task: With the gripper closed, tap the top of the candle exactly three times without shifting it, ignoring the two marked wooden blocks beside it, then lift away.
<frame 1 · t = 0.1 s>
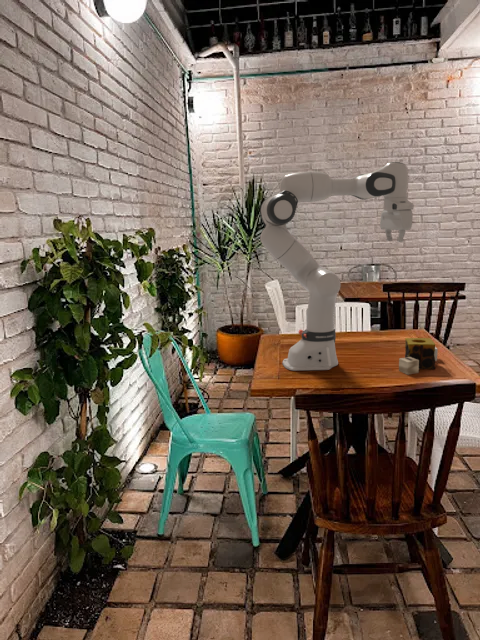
hand: (394, 241, 189), 48 cm above the table, fingers open, 8 cm apart
cream block marked: (429, 359, 195), on the table
beech block marked: (408, 372, 180), on the table
candle: (419, 366, 187), on the table
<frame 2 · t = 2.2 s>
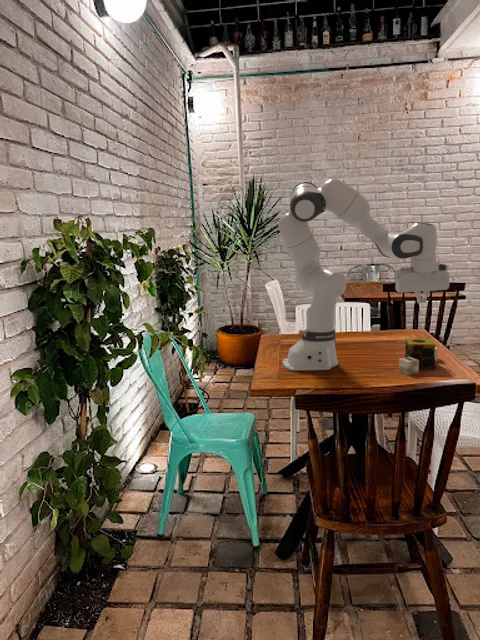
hand: (421, 302, 182), 25 cm above the table, fingers closed
nothing on the table moved.
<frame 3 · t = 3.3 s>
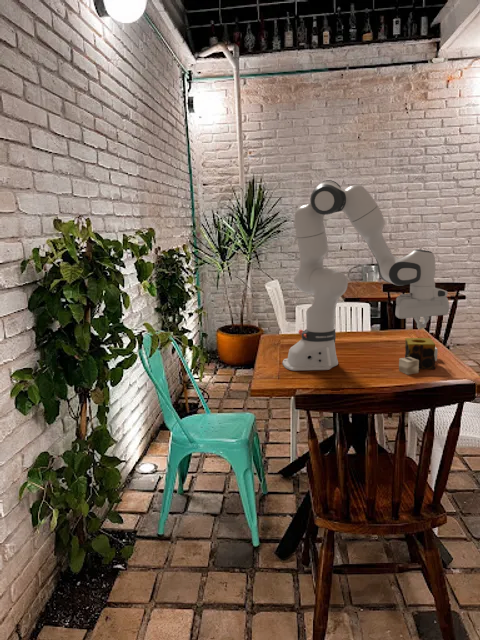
hand: (421, 327, 183), 15 cm above the table, fingers closed
nothing on the table moved.
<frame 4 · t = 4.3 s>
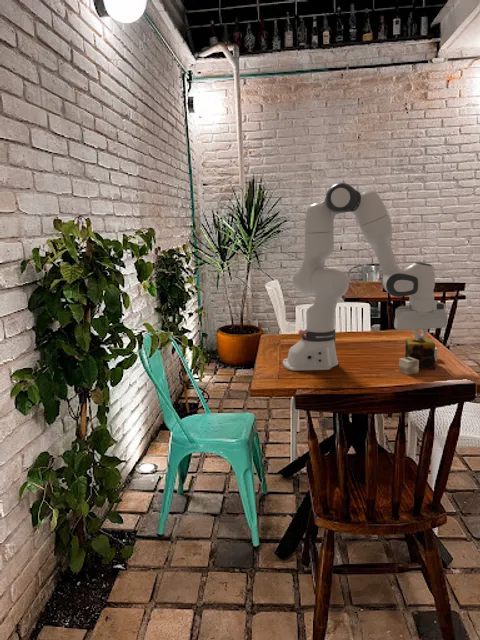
hand: (419, 340, 185), 10 cm above the table, fingers closed
nothing on the table moved.
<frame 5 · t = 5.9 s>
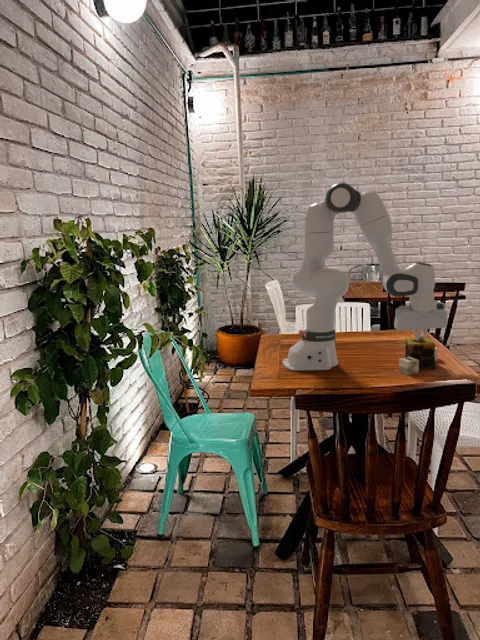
hand: (419, 339, 185), 10 cm above the table, fingers closed
nothing on the table moved.
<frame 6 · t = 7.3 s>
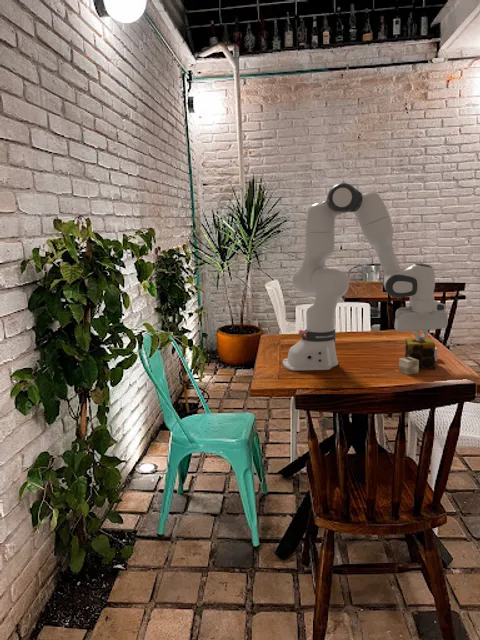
hand: (420, 340, 185), 10 cm above the table, fingers closed
nothing on the table moved.
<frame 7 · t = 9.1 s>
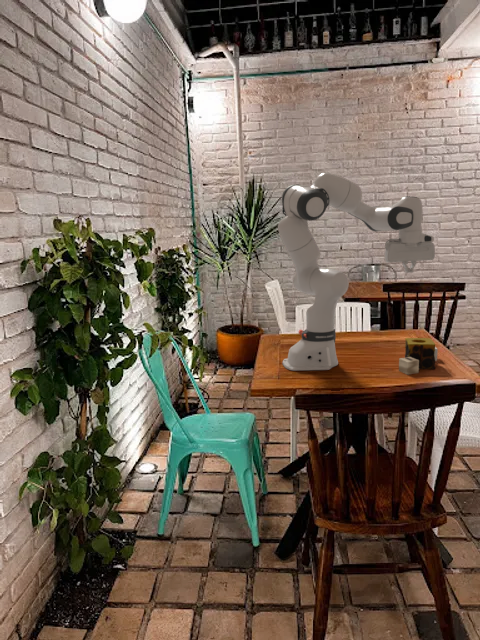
hand: (408, 272, 194), 35 cm above the table, fingers closed
nothing on the table moved.
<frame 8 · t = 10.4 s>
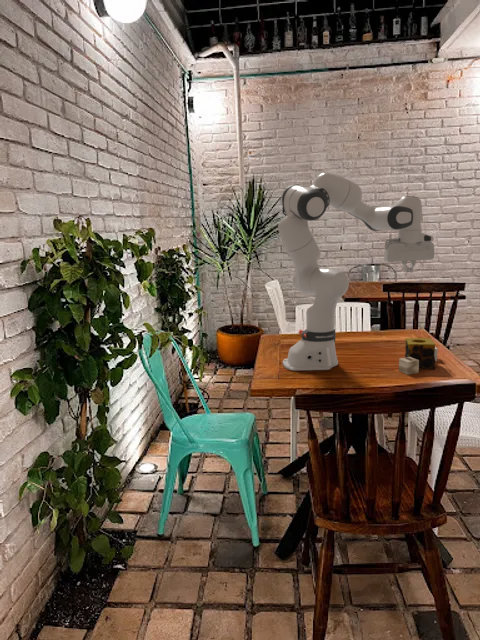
hand: (408, 272, 194), 35 cm above the table, fingers closed
nothing on the table moved.
at the end: candle moved 0.4 cm from its start; candle tilted 0°; beech block marked moved 0.2 cm from its start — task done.
